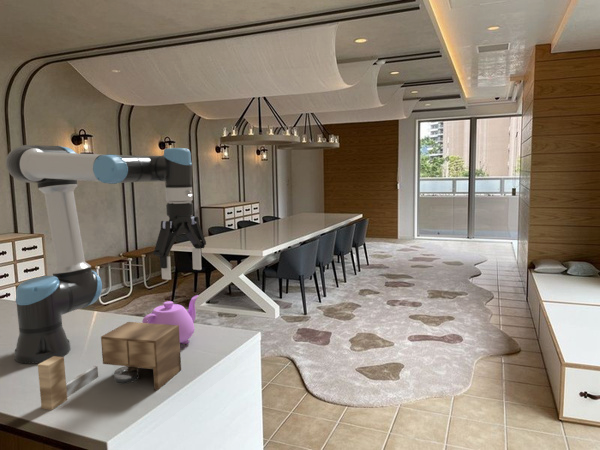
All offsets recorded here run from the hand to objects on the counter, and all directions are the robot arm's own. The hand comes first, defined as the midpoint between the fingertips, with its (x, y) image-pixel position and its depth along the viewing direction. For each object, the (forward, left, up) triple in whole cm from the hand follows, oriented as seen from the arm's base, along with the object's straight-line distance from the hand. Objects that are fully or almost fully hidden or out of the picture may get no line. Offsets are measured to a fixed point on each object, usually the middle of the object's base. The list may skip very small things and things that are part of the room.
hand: (182, 274), depth 138 cm
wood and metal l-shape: (-18, -26, -25) cm, 41 cm away
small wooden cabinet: (-5, -15, -25) cm, 30 cm away
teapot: (-10, +10, -26) cm, 29 cm away
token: (-9, -17, -26) cm, 32 cm away
